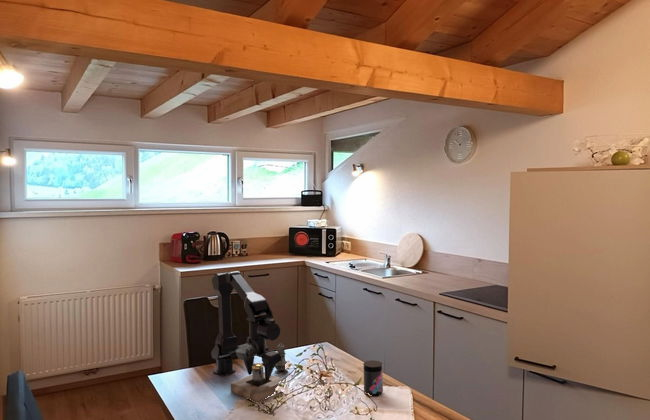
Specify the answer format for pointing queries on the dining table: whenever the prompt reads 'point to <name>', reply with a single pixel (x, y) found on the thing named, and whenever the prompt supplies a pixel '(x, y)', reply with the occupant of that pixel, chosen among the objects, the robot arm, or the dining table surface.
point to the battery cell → (257, 374)
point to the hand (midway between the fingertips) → (258, 377)
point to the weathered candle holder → (281, 364)
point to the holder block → (254, 388)
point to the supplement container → (373, 377)
